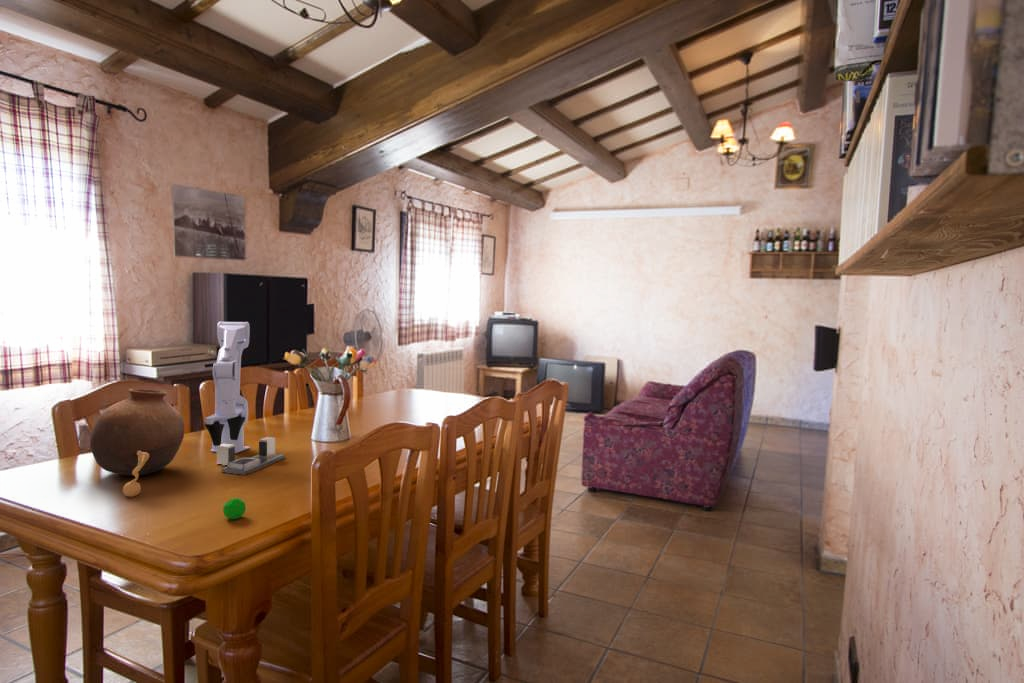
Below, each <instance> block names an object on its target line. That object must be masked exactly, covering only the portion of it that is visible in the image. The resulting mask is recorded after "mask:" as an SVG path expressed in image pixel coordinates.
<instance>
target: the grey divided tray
mask: <svg viewBox="0 0 1024 683" xmlns="http://www.w3.org/2000/svg"><path fill="white" fill-rule="evenodd" d="M283 458H284V459H286V454H282V453H281V454H280V453H276V437H272V436H265V437H262V438H260V439H259V440H258V454H257V455H254V456H252V457H246V456H245V457H241V458H238V459H235V461H233V462H230V463H227V466H226V467H223V468H221V470H220V472H226V473H225V474H229V473H233V474H232V475H237V474H241V475H240V476H246V475H248V474H247V473H249V474H251V473H253V472H255V470H256V471H258V470H260V469H263V468H265V467H267V465H268V466H269V464H270V465H272V464H275V463H277V462H279V461H281V459H282V460H283ZM276 461H277V462H276ZM274 462H275V463H274ZM271 463H272V464H271ZM264 466H265V467H264ZM262 467H263V468H262ZM259 468H260V469H259ZM257 469H258V470H257ZM252 471H253V472H252ZM250 472H251V473H250ZM245 474H246V475H245Z"/></svg>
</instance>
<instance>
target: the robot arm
mask: <svg viewBox="0 0 1024 683" xmlns="http://www.w3.org/2000/svg"><path fill="white" fill-rule="evenodd" d="M216 325H217V326H216V336H217V337H216V338H217V340H218V344H219V347H220V348H219V350H218V353H217V359H216V363H215V362H214V363H213V366H212V378H213V386H214V403H215V404H214V405H215V406H214V412H215V413H214V414H213V413H212V414H211V415H210V416H207V417H205V423H204V427H205V428H206V430H207V432H208V434H209V436H210V438H211V441H212V442H211V443H212V444H211V449H210V451H211V452H213V453H217V446H220V445H221V444H233V445H234V447H235V454H237V453H241V452H243V451H245V450H248V449H250V446H245V442H244V441H245V439H244V436H245V435H244V432H245V431H244V428H245V427H244V426H245V425H244V424H246V423H248V421H249V402H248V400H247V399H246V398H245V397H244V396H243V395H241V393H240V391H241V368H242V366H241V365H242V354H243V352H244V350H245V349H246V348H248V347H249V344H250V334H251V333H250V332H251V331H250V329H251V328H250V323H249V322H248V321H222V320H221V321H218V322H217V324H216Z"/></svg>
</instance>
